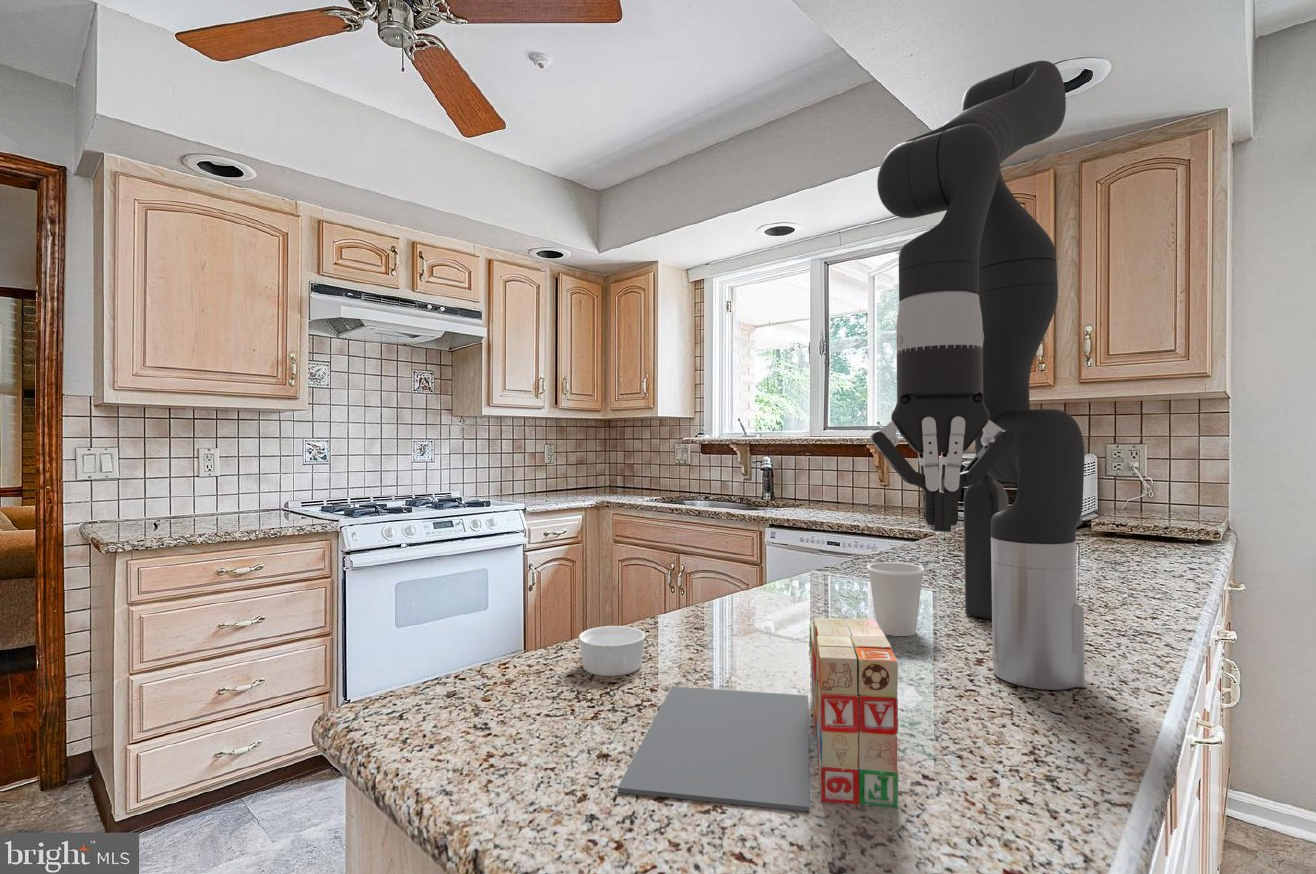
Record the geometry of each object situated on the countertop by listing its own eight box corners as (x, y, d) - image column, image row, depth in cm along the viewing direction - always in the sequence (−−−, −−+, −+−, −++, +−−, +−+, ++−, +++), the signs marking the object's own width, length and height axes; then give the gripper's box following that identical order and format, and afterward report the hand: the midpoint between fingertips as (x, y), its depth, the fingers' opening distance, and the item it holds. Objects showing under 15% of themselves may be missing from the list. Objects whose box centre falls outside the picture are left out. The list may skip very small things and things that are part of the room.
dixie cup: (895, 642, 98) (893, 574, 98) (856, 628, 106) (855, 565, 106) (937, 635, 102) (936, 569, 102) (897, 621, 109) (896, 560, 109)
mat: (808, 699, 77) (807, 695, 77) (809, 811, 54) (809, 807, 54) (672, 689, 81) (671, 686, 81) (617, 792, 57) (617, 787, 57)
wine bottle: (1012, 616, 112) (1009, 436, 112) (998, 622, 108) (995, 436, 108) (977, 610, 116) (975, 436, 116) (962, 615, 112) (959, 436, 113)
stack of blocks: (810, 703, 76) (809, 595, 77) (867, 707, 75) (866, 597, 75) (821, 804, 55) (818, 654, 56) (900, 810, 54) (898, 658, 54)
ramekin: (659, 666, 90) (658, 633, 90) (610, 684, 83) (610, 649, 83) (613, 652, 96) (613, 622, 96) (565, 668, 90) (564, 635, 90)
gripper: (1003, 349, 66) (1005, 527, 65) (862, 354, 68) (863, 524, 68) (1028, 338, 58) (1030, 538, 58) (869, 344, 61) (870, 534, 61)
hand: (940, 530), depth 63 cm, fingers closed
